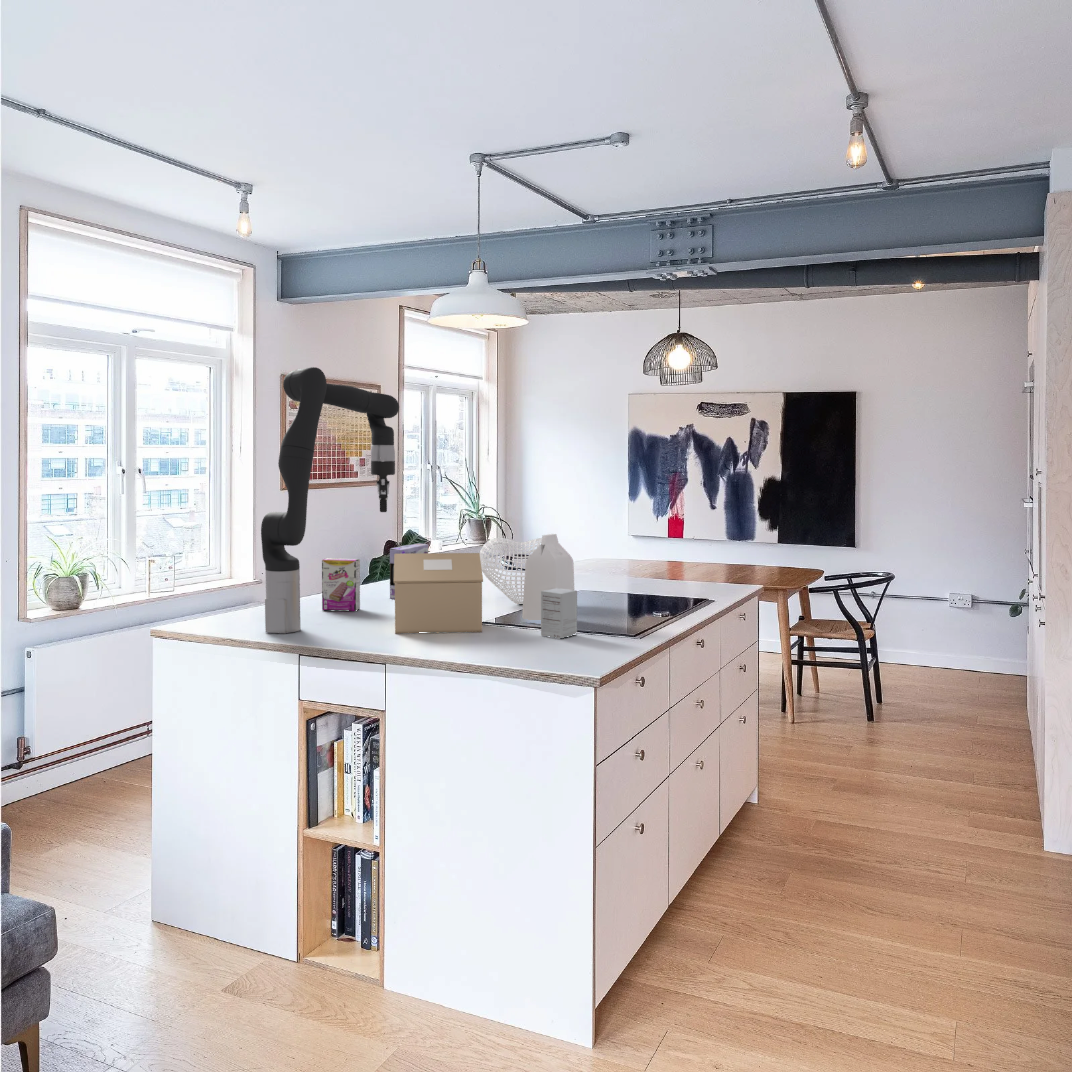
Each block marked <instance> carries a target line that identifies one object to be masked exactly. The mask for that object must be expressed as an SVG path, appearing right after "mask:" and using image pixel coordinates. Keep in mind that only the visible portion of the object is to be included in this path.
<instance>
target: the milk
mask: <svg viewBox="0 0 1072 1072" xmlns="http://www.w3.org/2000/svg"><path fill="white" fill-rule="evenodd" d="M541 536H542V537H541V538H542V541H541V543H540V546H539V547H538V548H537V547H536V548H535V549H536V550H535V551H534V552H531V553H530V556H529V555H528V556H529V557H528V558H526V564H525V563H524V567H525V568H524V571H525V573H524V576H525V577H524V579H523V580H524V581H523V582H524V583H523V584H524V585H523V588H524V589H523V591H524V593H523V595H524V596H523V597H522V598H523V599H522V600H523V605H522V615H521V619H522V618H523V619H528V620H541V591H545V590H550V589H555V588H560V589H569V590H575V571H574V569H575V568H574V567H575V566H574V565H575V564H574V559H573V557H572V556H571V554H570V553H569V552H568V551H567V550H566V549H565V548H564V547H563V546H562V545H561V543H559V539H558V535H557V534H556V533H548V534H543V535H541Z"/></svg>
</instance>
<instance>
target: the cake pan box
mask: <svg viewBox="0 0 1072 1072" xmlns="http://www.w3.org/2000/svg"><path fill="white" fill-rule="evenodd" d="M414 553H429V544H426V543H421V542H420V543H414V544H406V545H401V546H396V547H391V548H390V549H389V599H391V600H395V583H394V554H414Z"/></svg>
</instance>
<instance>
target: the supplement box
mask: <svg viewBox="0 0 1072 1072" xmlns="http://www.w3.org/2000/svg"><path fill="white" fill-rule="evenodd" d="M576 632H577V633H578V590H575V589H574V590H569V589H560V588H555V589H550V590H545V591H541V625H540V635H541V637H544V636H550V637H556V638H564V637H567V636H571V635H573V634H575V633H576ZM550 637H549V638H550ZM556 638H555V639H556ZM564 639H565V638H564Z"/></svg>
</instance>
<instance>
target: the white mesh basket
mask: <svg viewBox="0 0 1072 1072" xmlns="http://www.w3.org/2000/svg"><path fill="white" fill-rule="evenodd" d="M541 541H542V537H540V538H538V537H537V538H534V539H530V540H528V541H523V542H522V541H516V540H513V539H509V538H505V537H494V538H492V539H489V540H488V541H486V542H485V543H484V544H483V545H482V547H481V549H480V551H479V554H480V561H481V568H482V574H484V576H485V577H486V579H487V580H488V581H490V583H491V584H493V585H494V586H495V587H496V588H497V589H498V590H499V591H500V592H501V593H503V594H504V596H506V597H507V598H508V599H509V600H510V601H511V602H513V603H514V604H516V605H518V604H523V596H524V587H523V586H524V583H523V582H524V580H525V579H523V578H525V575H523V574H525V570H523V569H525V566H523V564H524V565H525V564H526V560H527V558H528V557H529V556H530V555H531V553H533V552H534V551H535V550H536V549H537V548H538V547H539V546H540V545H541ZM507 547H508V548H507ZM531 549H532V550H531ZM519 550H520V551H519ZM527 550H528V551H527ZM503 551H504V552H503ZM487 553H488V554H487ZM511 553H512V554H511ZM515 554H516V555H515ZM519 554H520V556H519ZM523 554H524V556H523ZM527 554H528V555H527ZM494 555H495V557H494ZM503 556H504V558H503ZM507 556H508V559H507ZM511 557H512V559H511ZM494 559H495V560H494ZM515 559H516V560H515ZM519 559H520V561H519ZM523 559H524V561H523ZM498 560H499V562H498ZM502 560H503V561H504V562H503V563H502ZM506 561H507V564H506ZM510 562H511V563H512V564H511V565H510ZM514 563H516V566H515V565H514ZM518 564H520V566H518ZM497 565H498V566H497ZM501 566H502V568H501ZM505 567H506V569H505ZM509 568H511V570H509ZM513 568H515V570H513ZM518 569H520V571H519V570H518ZM500 571H501V573H500ZM504 572H505V574H504ZM508 573H510V575H509V574H508ZM513 573H515V575H513ZM518 573H519V574H520V575H518ZM502 577H504V578H502ZM507 577H508V578H509V579H507ZM512 578H514V579H512ZM518 578H520V579H518ZM507 582H509V583H507ZM513 582H514V583H513ZM518 582H520V583H518ZM513 586H514V587H513ZM518 586H520V587H518ZM519 590H520V591H519Z"/></svg>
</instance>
